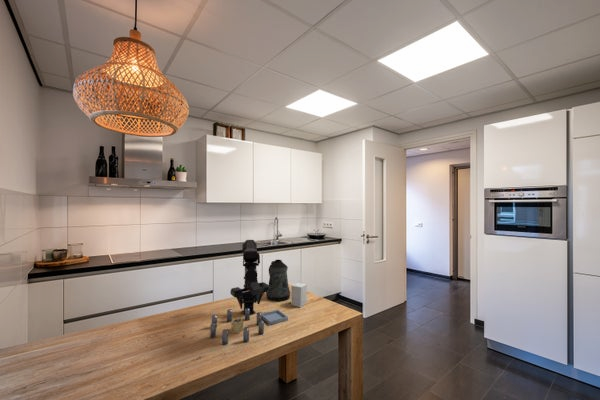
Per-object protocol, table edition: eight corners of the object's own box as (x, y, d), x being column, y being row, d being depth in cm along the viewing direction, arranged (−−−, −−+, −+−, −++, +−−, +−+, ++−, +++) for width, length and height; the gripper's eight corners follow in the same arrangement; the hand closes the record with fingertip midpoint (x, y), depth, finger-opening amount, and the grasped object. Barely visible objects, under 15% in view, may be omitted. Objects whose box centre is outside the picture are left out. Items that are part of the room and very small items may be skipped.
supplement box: (306, 304, 170) (307, 284, 170) (300, 307, 164) (301, 287, 164) (297, 301, 174) (297, 282, 174) (290, 305, 168) (291, 285, 168)
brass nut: (230, 329, 136) (230, 319, 136) (239, 326, 138) (240, 317, 138) (234, 334, 131) (234, 324, 131) (244, 331, 133) (244, 321, 133)
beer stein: (282, 303, 170) (282, 264, 170) (257, 298, 179) (258, 260, 179) (294, 295, 184) (295, 259, 184) (271, 290, 194) (272, 256, 194)
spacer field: (203, 326, 138) (203, 314, 138) (251, 314, 153) (251, 304, 153) (218, 350, 116) (218, 337, 116) (272, 334, 131) (272, 322, 131)
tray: (260, 317, 150) (260, 313, 150) (278, 313, 156) (278, 309, 156) (269, 325, 140) (269, 321, 140) (287, 320, 147) (287, 316, 147)
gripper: (239, 283, 122) (238, 317, 122) (274, 276, 132) (274, 307, 133) (230, 276, 131) (229, 308, 131) (264, 271, 141) (263, 300, 142)
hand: (249, 306), depth 134 cm, fingers open, 9 cm apart
